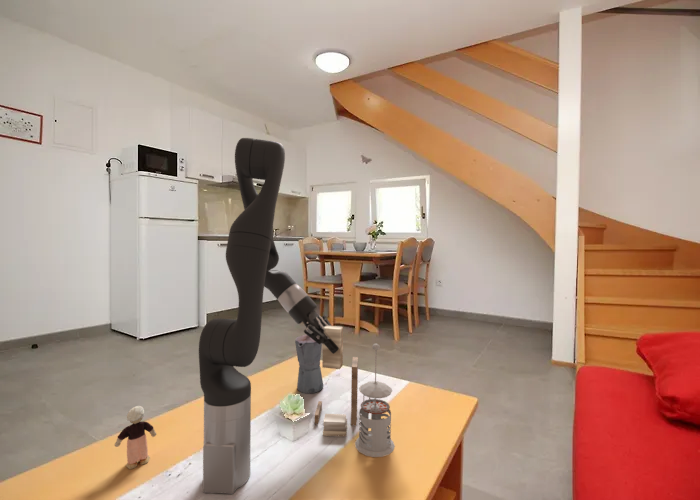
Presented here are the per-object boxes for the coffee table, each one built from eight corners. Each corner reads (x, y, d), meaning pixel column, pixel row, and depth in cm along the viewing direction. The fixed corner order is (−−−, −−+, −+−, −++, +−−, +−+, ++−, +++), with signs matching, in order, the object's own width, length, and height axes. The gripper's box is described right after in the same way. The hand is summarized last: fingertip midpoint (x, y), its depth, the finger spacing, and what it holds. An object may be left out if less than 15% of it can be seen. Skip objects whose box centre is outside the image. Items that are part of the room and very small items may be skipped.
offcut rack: (356, 425, 91) (357, 367, 91) (314, 424, 92) (315, 365, 91) (357, 410, 99) (357, 357, 99) (318, 409, 100) (319, 356, 99)
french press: (361, 460, 77) (363, 351, 76) (348, 432, 88) (349, 337, 87) (401, 453, 79) (402, 348, 79) (383, 427, 91) (384, 335, 90)
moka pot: (286, 395, 109) (287, 333, 109) (306, 377, 124) (307, 323, 123) (314, 399, 106) (314, 336, 106) (330, 380, 121) (331, 325, 121)
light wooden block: (339, 369, 92) (340, 329, 92) (322, 367, 93) (322, 328, 93) (342, 365, 95) (343, 326, 95) (325, 363, 96) (326, 325, 96)
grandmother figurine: (151, 452, 79) (151, 398, 78) (157, 459, 76) (157, 403, 76) (112, 468, 73) (112, 410, 72) (118, 476, 70) (118, 416, 70)
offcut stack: (346, 436, 86) (346, 422, 86) (322, 435, 86) (323, 421, 86) (347, 427, 90) (347, 414, 90) (324, 426, 91) (325, 413, 91)
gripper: (297, 298, 89) (341, 348, 86) (314, 291, 102) (353, 334, 100) (278, 317, 90) (321, 366, 87) (298, 307, 104) (335, 350, 101)
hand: (337, 349), depth 94 cm, fingers closed on light wooden block, 3 cm apart
